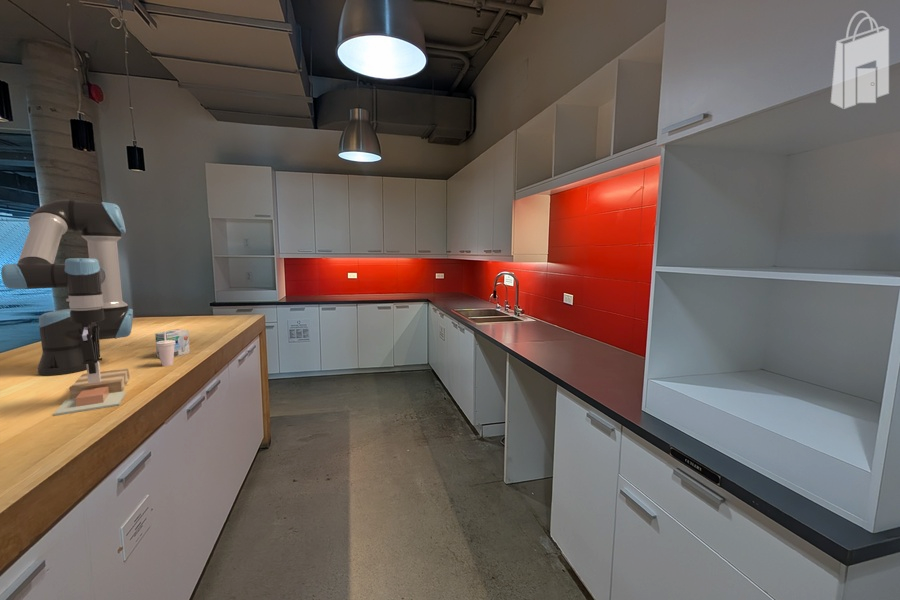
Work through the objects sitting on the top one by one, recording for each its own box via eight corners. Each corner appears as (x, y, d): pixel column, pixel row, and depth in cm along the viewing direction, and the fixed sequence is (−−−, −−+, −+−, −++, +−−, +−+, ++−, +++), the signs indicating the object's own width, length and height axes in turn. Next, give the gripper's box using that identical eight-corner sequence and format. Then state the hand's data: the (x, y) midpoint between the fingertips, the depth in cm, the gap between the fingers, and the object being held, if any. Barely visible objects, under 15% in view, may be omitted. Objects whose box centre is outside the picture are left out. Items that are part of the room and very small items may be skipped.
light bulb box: (168, 359, 161) (166, 334, 159) (156, 357, 162) (154, 333, 161) (190, 352, 171) (189, 329, 170) (178, 351, 173) (177, 328, 171)
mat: (66, 401, 115) (66, 399, 115) (125, 392, 123) (125, 390, 123) (53, 415, 105) (53, 413, 105) (119, 405, 113) (119, 403, 113)
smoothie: (155, 368, 148) (153, 333, 147) (159, 363, 154) (156, 330, 152) (175, 366, 151) (173, 332, 150) (178, 361, 157) (175, 329, 155)
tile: (83, 397, 117) (82, 389, 117) (108, 393, 120) (108, 386, 120) (76, 406, 110) (75, 398, 110) (103, 402, 114) (102, 394, 113)
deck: (84, 384, 129) (82, 373, 129) (129, 379, 136) (128, 368, 135) (70, 400, 116) (69, 388, 115) (121, 393, 122) (120, 381, 122)
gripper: (75, 306, 118) (83, 378, 121) (63, 312, 107) (72, 391, 110) (107, 305, 122) (114, 374, 125) (98, 310, 111) (106, 386, 114)
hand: (94, 382), depth 118 cm, fingers closed
